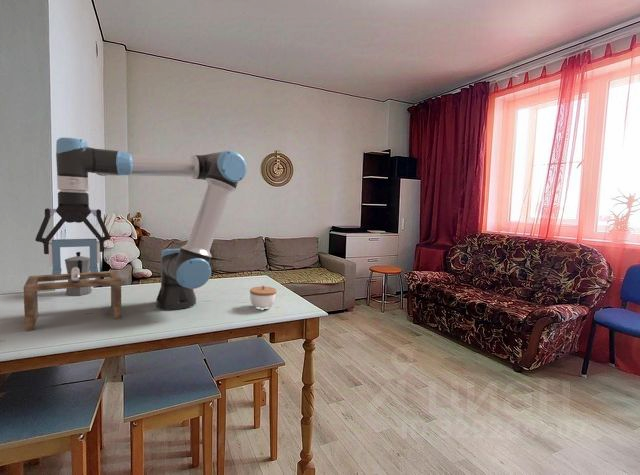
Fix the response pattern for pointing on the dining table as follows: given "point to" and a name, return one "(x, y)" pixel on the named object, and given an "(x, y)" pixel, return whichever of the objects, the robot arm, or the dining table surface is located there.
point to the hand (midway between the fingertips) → (75, 263)
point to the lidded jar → (262, 296)
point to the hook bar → (75, 275)
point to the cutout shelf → (33, 287)
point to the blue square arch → (73, 243)
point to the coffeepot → (84, 267)
